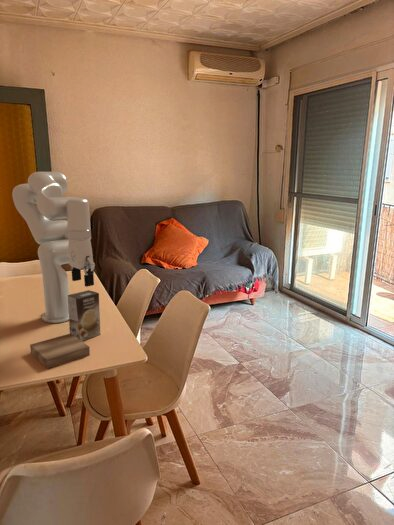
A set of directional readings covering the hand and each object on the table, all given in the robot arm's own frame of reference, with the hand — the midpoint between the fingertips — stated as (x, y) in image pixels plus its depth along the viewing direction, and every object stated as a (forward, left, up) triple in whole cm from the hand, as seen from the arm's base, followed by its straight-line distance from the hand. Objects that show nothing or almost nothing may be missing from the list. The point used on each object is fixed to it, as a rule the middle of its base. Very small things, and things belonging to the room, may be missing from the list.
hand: (82, 283), depth 140 cm
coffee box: (0, 0, -20) cm, 20 cm away
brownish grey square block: (+8, -13, -20) cm, 25 cm away
